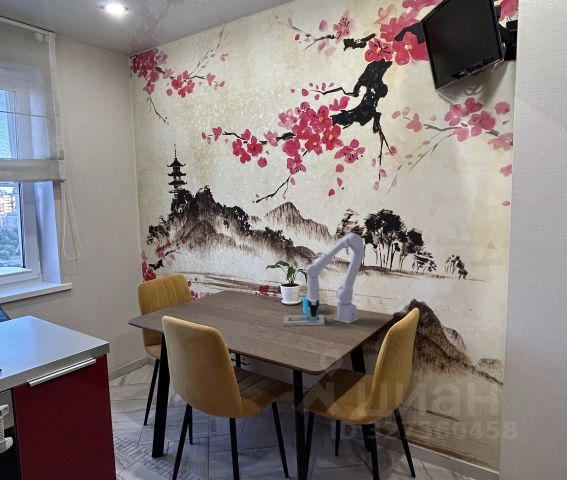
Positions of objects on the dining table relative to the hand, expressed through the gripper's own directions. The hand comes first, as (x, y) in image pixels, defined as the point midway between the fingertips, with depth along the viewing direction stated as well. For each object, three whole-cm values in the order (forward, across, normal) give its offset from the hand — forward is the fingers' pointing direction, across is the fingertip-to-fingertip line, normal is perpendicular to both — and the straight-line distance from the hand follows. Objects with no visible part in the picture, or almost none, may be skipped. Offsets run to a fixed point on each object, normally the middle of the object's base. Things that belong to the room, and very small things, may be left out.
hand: (313, 315), depth 200 cm
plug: (+2, 0, 0) cm, 3 cm away
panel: (+3, 0, -5) cm, 6 cm away
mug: (+4, -18, 0) cm, 18 cm away
